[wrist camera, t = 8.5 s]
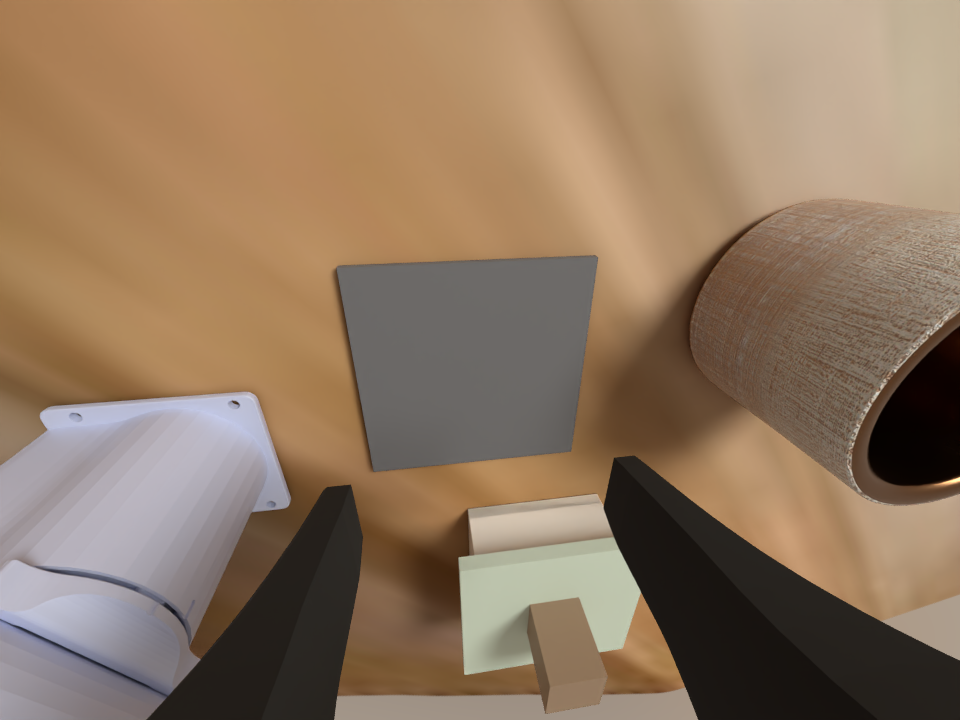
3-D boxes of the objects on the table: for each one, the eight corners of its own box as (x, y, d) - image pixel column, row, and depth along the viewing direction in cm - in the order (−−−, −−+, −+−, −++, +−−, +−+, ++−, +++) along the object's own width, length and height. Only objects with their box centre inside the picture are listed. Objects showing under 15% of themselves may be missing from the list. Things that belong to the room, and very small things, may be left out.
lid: (463, 661, 26) (471, 757, 22) (458, 557, 21) (468, 658, 17) (617, 635, 28) (652, 722, 23) (648, 532, 22) (702, 620, 18)
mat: (374, 466, 23) (373, 471, 23) (338, 265, 17) (336, 267, 17) (568, 447, 24) (571, 451, 24) (594, 255, 19) (597, 257, 18)
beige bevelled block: (470, 589, 30) (478, 655, 26) (467, 508, 26) (476, 573, 22) (581, 573, 31) (605, 634, 27) (596, 493, 27) (627, 552, 23)
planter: (857, 346, 24) (1094, 450, 16) (689, 409, 24) (830, 543, 16) (888, 160, 19) (1271, 168, 10) (672, 246, 19) (870, 320, 11)
